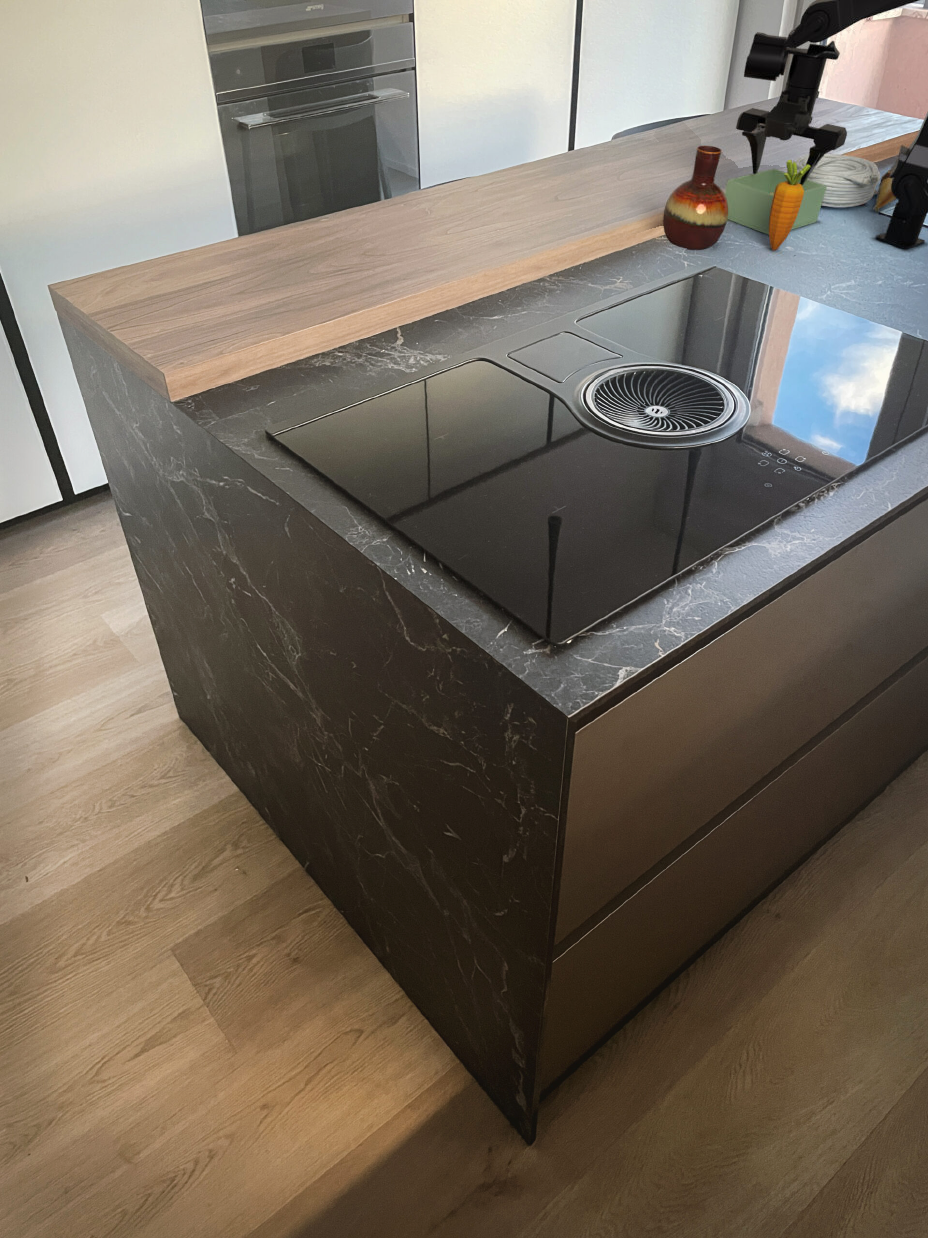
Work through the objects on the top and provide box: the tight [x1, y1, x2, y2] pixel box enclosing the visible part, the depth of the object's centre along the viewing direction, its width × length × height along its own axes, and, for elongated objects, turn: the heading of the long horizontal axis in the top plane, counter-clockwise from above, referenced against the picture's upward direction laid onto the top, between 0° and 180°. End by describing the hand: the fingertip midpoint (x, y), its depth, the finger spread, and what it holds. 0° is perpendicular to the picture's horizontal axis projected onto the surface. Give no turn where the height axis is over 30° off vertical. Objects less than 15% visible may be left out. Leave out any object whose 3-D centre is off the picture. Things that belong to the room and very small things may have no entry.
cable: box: [792, 153, 881, 208], centre depth 187 cm, size 18×18×6 cm
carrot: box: [768, 159, 811, 252], centre depth 161 cm, size 5×5×15 cm
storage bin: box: [724, 168, 827, 236], centre depth 176 cm, size 14×12×7 cm
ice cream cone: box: [872, 168, 897, 213], centre depth 188 cm, size 6×6×15 cm
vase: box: [662, 145, 728, 251], centre depth 162 cm, size 11×11×15 cm
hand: (778, 179), depth 174 cm, fingers open, 9 cm apart
